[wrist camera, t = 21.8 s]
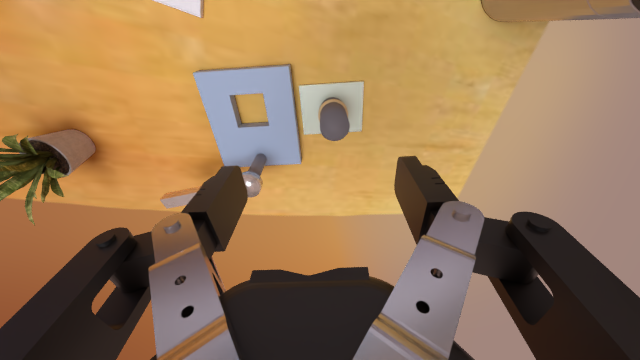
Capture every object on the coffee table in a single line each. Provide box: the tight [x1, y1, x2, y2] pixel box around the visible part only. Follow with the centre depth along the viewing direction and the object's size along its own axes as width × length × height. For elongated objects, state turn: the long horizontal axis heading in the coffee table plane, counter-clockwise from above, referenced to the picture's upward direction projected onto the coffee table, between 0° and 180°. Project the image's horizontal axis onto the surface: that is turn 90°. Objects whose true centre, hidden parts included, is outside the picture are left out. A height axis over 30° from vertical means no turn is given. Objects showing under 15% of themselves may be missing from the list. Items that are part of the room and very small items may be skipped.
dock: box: [193, 64, 302, 176], centre depth 35 cm, size 14×16×9 cm
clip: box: [160, 171, 262, 208], centre depth 35 cm, size 4×16×2 cm, turn 103°
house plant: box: [0, 129, 96, 224], centre depth 34 cm, size 14×14×16 cm
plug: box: [318, 97, 350, 141], centre depth 34 cm, size 5×5×8 cm
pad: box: [299, 81, 364, 134], centre depth 38 cm, size 10×8×1 cm
